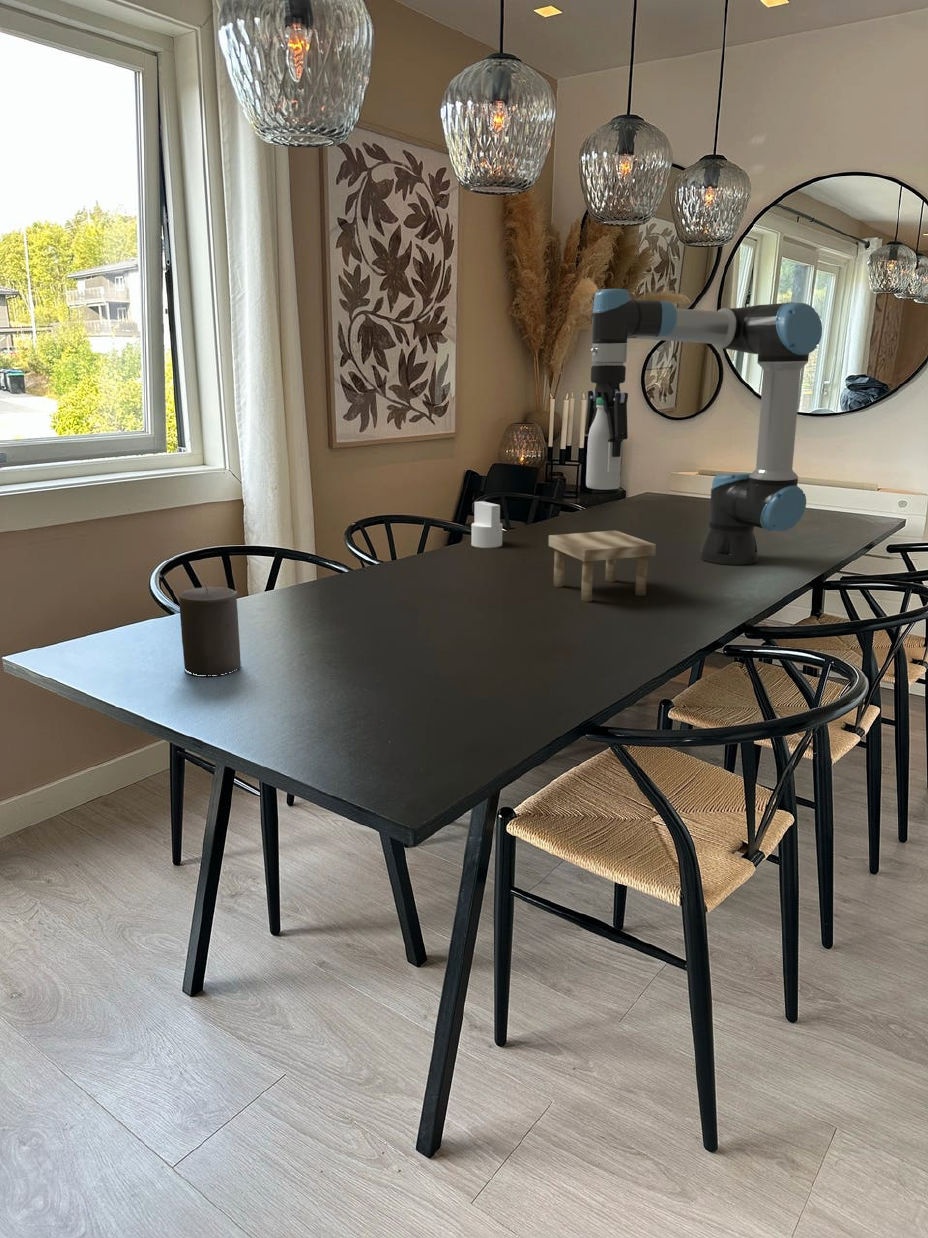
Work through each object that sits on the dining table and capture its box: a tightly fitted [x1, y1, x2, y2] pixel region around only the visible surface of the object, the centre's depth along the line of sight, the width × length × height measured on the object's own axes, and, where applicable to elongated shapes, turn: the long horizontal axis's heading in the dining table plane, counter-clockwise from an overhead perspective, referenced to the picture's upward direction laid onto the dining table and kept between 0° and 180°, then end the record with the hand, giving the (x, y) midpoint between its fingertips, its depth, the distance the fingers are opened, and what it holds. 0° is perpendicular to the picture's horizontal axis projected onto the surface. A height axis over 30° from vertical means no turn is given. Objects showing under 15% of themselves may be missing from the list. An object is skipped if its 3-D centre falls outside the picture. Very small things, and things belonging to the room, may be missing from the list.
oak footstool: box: [548, 530, 657, 603], centre depth 207 cm, size 18×18×12 cm
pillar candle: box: [178, 585, 242, 676], centre depth 155 cm, size 10×10×15 cm
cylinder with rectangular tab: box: [470, 500, 503, 549], centre depth 257 cm, size 9×9×12 cm
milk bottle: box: [585, 397, 623, 491], centre depth 199 cm, size 8×8×20 cm
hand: (603, 469), depth 201 cm, fingers closed on milk bottle, 8 cm apart
